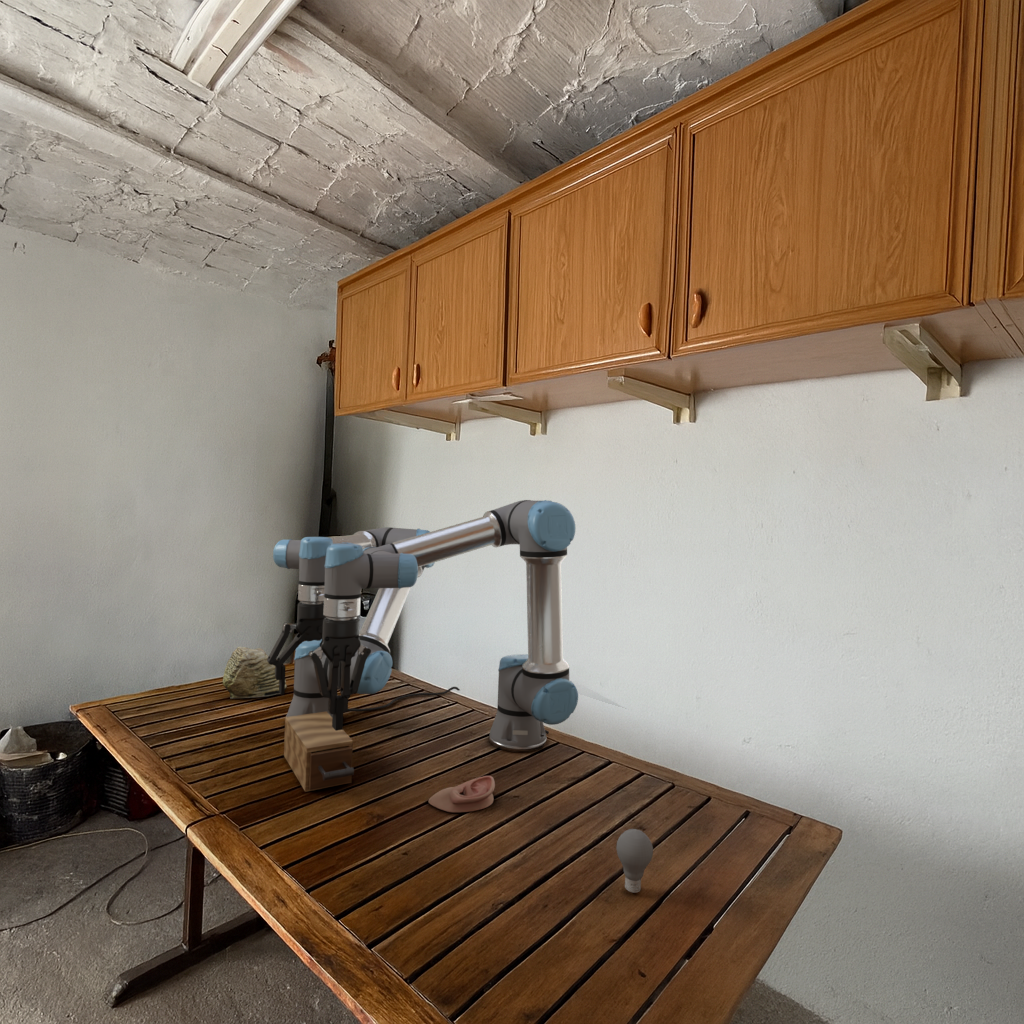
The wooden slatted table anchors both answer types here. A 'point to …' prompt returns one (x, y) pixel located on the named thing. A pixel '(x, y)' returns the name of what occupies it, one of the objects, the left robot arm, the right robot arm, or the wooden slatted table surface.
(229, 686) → the fossil
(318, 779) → the drawer
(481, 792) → the anatomical model
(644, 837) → the light bulb
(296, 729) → the cabinet
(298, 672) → the left robot arm
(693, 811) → the wooden slatted table surface
